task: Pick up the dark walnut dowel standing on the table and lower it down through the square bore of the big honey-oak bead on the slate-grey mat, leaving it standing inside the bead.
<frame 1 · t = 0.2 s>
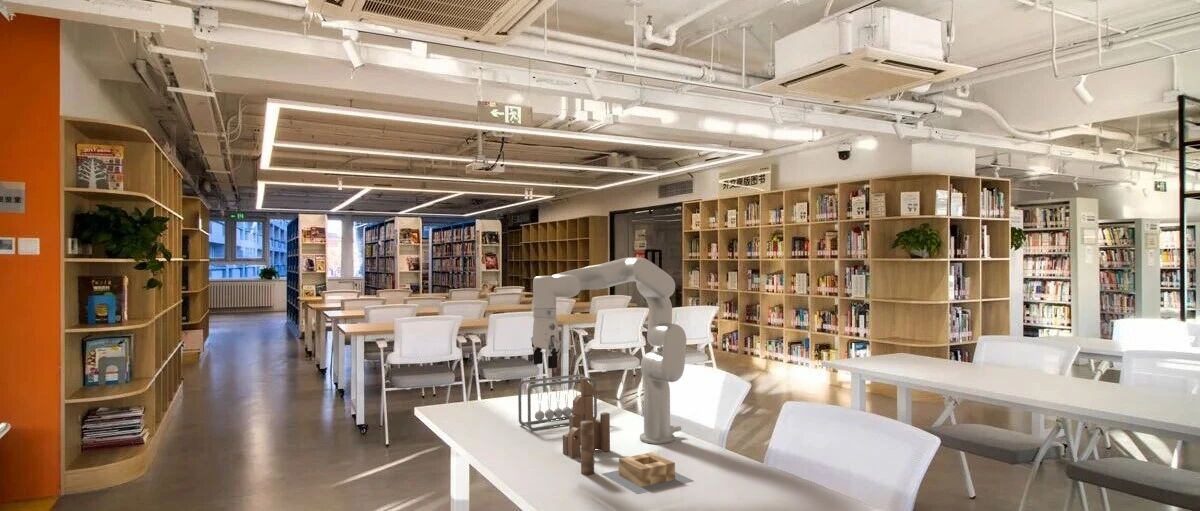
hand: (545, 365, 217), 31 cm above the table, tool pointing down, fingers open, 9 cm apart
slate mat: (646, 478, 199), on the table
wooden toy: (587, 452, 226), on the table
walnut dowel: (587, 474, 203), on the table
newton's cradle: (558, 423, 265), on the table
oak bead: (646, 477, 199), resting on slate mat
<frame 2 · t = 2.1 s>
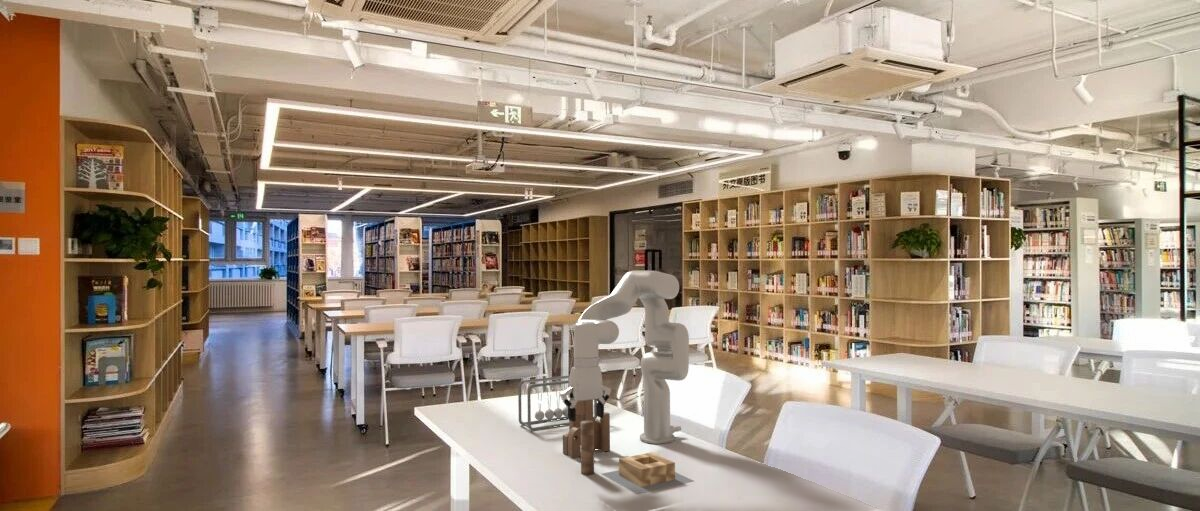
hand: (586, 418, 203), 17 cm above the table, tool pointing down, fingers open, 9 cm apart
nothing on the table moved.
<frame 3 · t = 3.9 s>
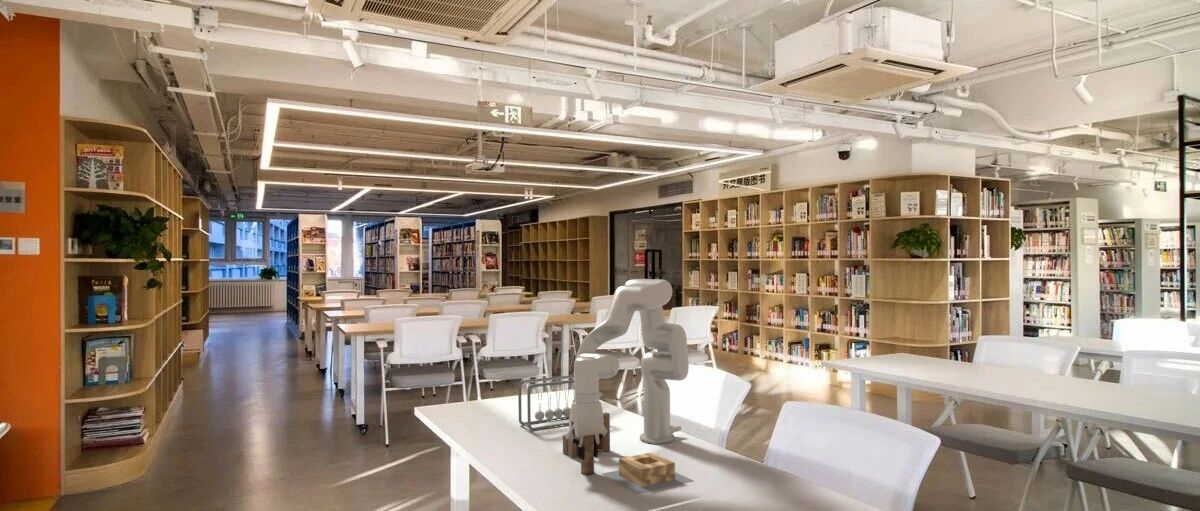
hand: (587, 457, 203), 5 cm above the table, tool pointing down, fingers closed on walnut dowel, 4 cm apart
walnut dowel: (587, 474, 203), on the table, touching gripper
everything else where it was.
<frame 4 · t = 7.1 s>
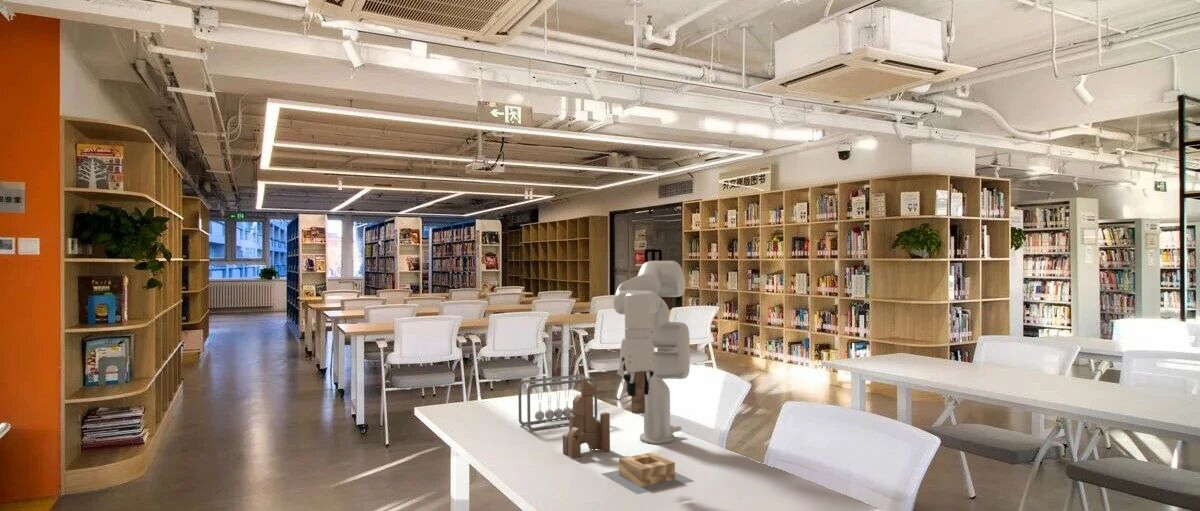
hand: (638, 394, 199), 25 cm above the table, tool pointing down, fingers closed on walnut dowel, 4 cm apart
walnut dowel: (638, 412, 199), point 20 cm above the table, touching gripper
everything else where it was.
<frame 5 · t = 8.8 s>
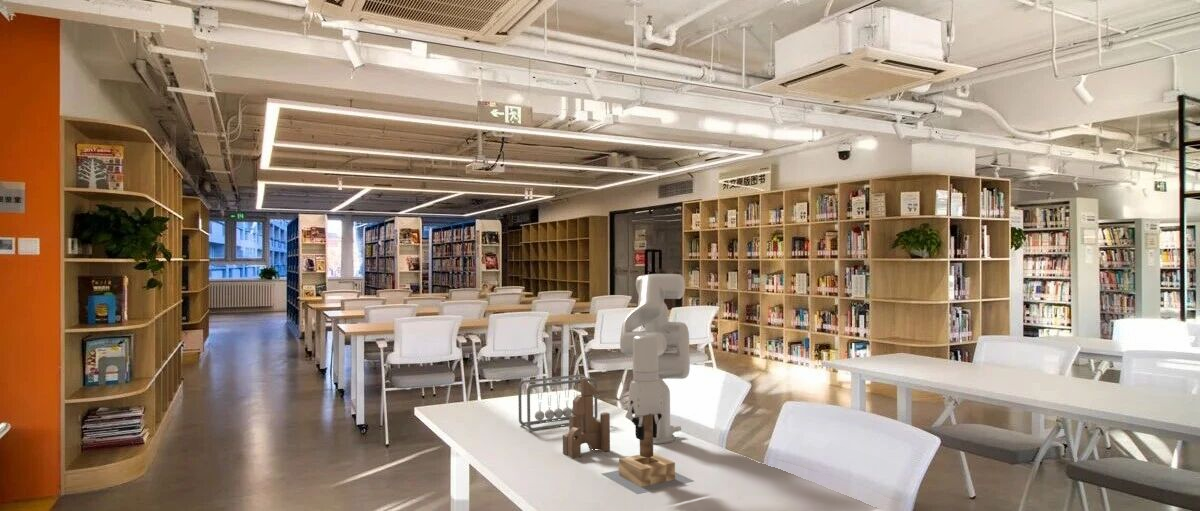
hand: (646, 437, 199), 13 cm above the table, tool pointing down, fingers closed on walnut dowel, 4 cm apart
walnut dowel: (646, 455, 198), point 7 cm above the table, touching gripper
everything else where it was.
when the fingers open (7 cm above the table, at t = 10.3 s): walnut dowel drops 1 cm, resting on slate mat.
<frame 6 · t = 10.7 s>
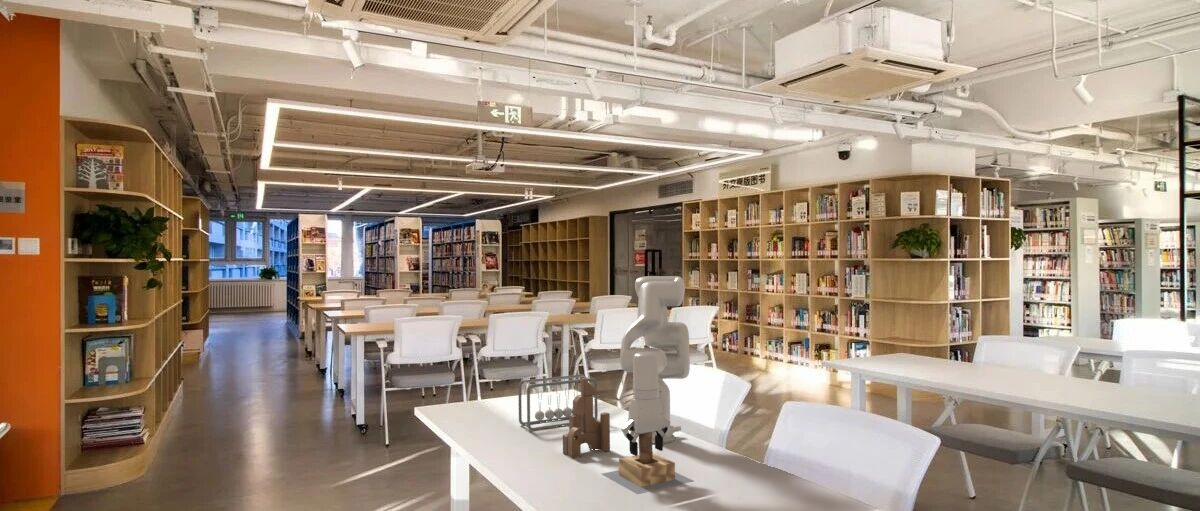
hand: (646, 451, 199), 8 cm above the table, tool pointing down, fingers open, 8 cm apart
walnut dowel: (646, 477, 199), point 1 cm above the table, touching slate mat
everything else where it was.
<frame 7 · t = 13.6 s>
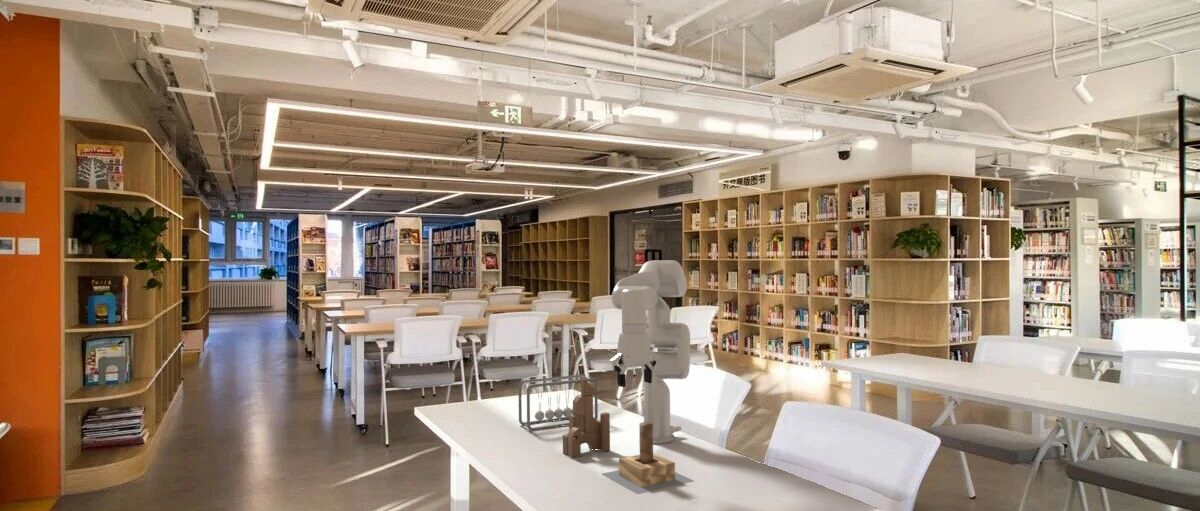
hand: (635, 384, 204), 27 cm above the table, tool pointing down, fingers open, 9 cm apart
nothing on the table moved.
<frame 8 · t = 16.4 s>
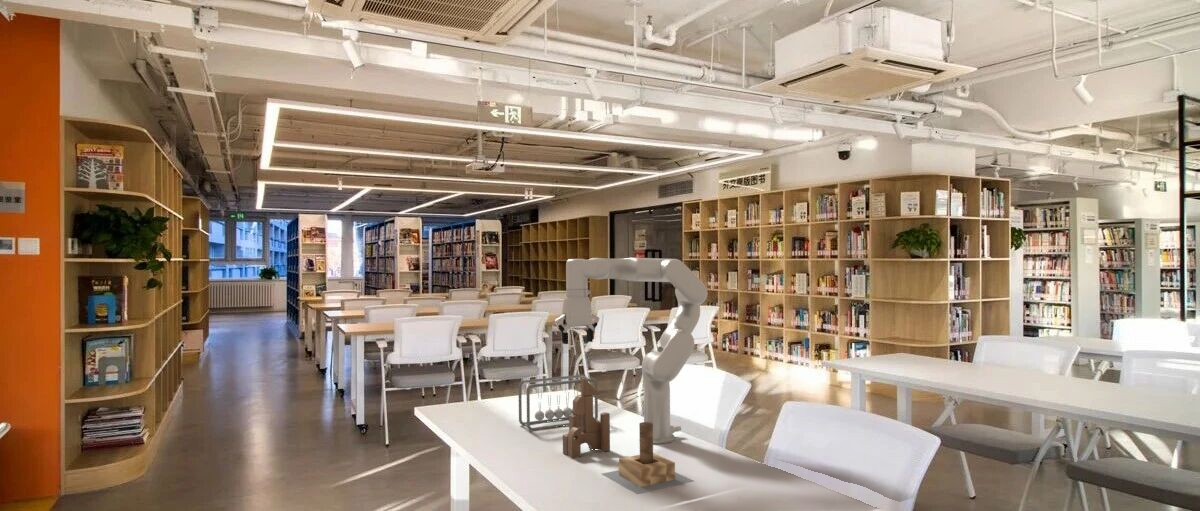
hand: (577, 342, 234), 36 cm above the table, tool pointing down, fingers open, 9 cm apart
nothing on the table moved.
at the end: walnut dowel 0.1 cm from the oak bead (horizontally); walnut dowel point 0.5 cm above the table; walnut dowel tilted 0° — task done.
